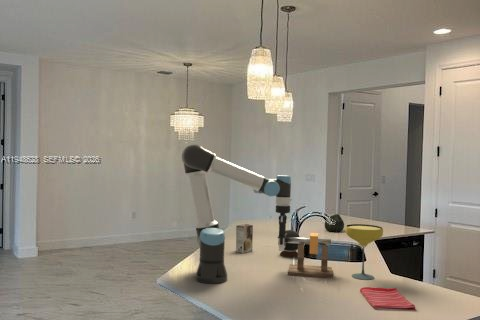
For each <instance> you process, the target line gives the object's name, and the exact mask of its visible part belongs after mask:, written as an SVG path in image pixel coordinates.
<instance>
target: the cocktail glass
mask: <svg viewBox="0 0 480 320" xmlns="http://www.w3.org/2000/svg"><path fill="white" fill-rule="evenodd" d="M345 234H346V235H347V236H348V237H349V238H350V239H352V240H354V241H356V242H357V243H359V245H360V247H362V262H361V263H362V264H361V273H358V272H357V273H353V274H351V277H352V278H353V279H357V280H362V281H370V280H374V279H375V277H374V276H373V275H372V274H368V273H365V248H366V247H367V246H368V245H369V244H371V243H373V242H375V241H377V240H379V239H380V238H382V237H383V236H384V228H383V227H382V226H379V225H375V224H374V225H372V224H366V223H365V224H362V223H361V224H359V223H353V224H347V225H346V226H345Z"/></svg>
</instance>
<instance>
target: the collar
mask: <svg viewBox="0 0 480 320" xmlns="http://www.w3.org/2000/svg"><path fill="white" fill-rule="evenodd" d="M309 238H310V244H309V254H310V255H318V250H319V245H318V239H319V233H318V232H310V233H309Z"/></svg>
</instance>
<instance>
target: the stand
mask: <svg viewBox="0 0 480 320" xmlns="http://www.w3.org/2000/svg"><path fill="white" fill-rule="evenodd" d="M297 252H298V257H297V264H289V265H288V268H287V276H298V277H314V278H326V279H327V278H328V279H333V276H334V275H333V268H332V266H328V260H329V259H328V257H329V256H328V254H329V245H321V257H320V258H321V259H320V260H321V261H320V262H321V263H320V265H321V266H320V265H306V264H305V265H304V263H305V261H304V260H305V258H304V257H305V244H298V249H297Z"/></svg>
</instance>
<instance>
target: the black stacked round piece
mask: <svg viewBox="0 0 480 320" xmlns="http://www.w3.org/2000/svg"><path fill="white" fill-rule="evenodd" d="M286 233H287V235H286V237H297V238H301V236H300V235H299V233H298V232H297V231H294V230H292V229H288V230H287V229H286ZM279 255H280V256H281V257H284V258H298V243H286V245H285V248H284V251H280V252H279Z"/></svg>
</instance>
